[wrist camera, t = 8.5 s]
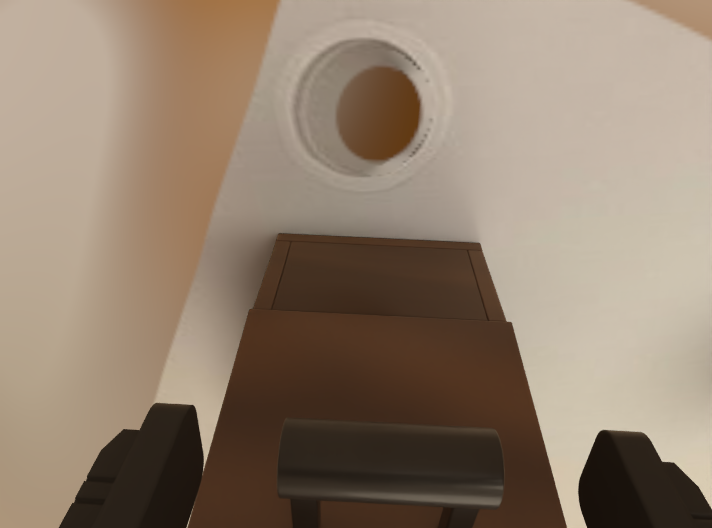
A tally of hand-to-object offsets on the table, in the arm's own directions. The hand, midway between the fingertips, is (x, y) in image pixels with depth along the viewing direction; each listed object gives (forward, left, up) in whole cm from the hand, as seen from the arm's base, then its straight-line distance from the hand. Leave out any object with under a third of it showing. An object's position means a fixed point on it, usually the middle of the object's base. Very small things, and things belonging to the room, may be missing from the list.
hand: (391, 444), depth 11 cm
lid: (+6, 0, -4) cm, 7 cm away
